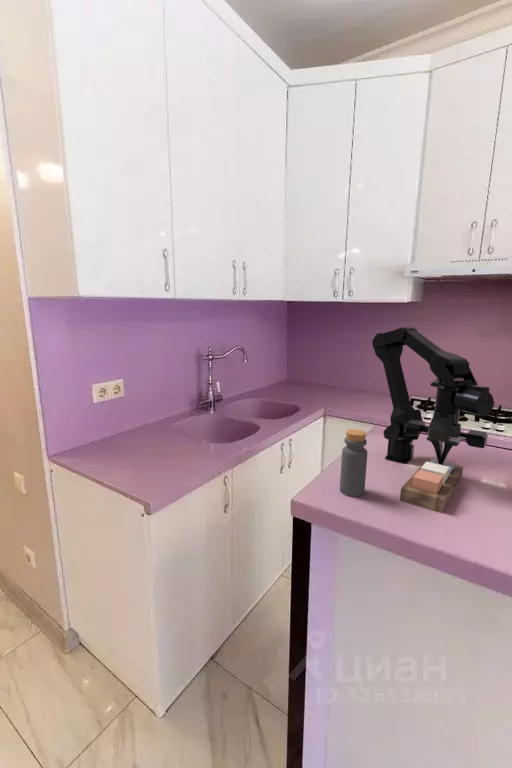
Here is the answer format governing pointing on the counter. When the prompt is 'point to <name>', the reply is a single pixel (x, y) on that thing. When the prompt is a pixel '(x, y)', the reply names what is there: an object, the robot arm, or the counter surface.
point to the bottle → (353, 464)
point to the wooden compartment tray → (428, 498)
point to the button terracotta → (427, 482)
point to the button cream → (437, 470)
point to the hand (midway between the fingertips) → (440, 464)
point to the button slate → (445, 465)
